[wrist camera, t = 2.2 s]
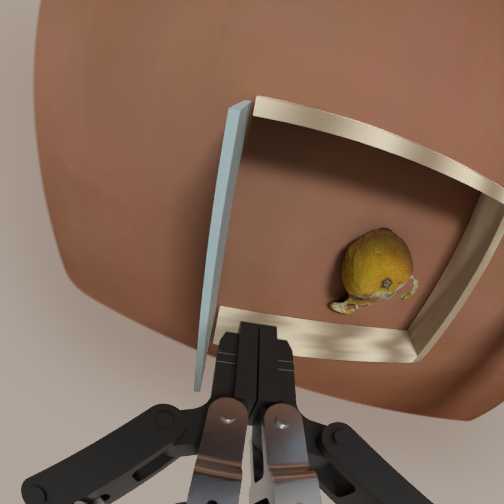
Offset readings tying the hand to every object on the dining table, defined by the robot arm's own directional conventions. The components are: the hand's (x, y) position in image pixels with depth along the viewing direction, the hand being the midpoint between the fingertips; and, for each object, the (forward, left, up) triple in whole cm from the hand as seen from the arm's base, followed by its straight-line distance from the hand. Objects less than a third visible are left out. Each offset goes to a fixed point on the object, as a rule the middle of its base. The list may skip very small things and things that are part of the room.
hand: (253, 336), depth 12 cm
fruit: (-10, +3, -11) cm, 15 cm away
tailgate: (+2, 0, -10) cm, 10 cm away
